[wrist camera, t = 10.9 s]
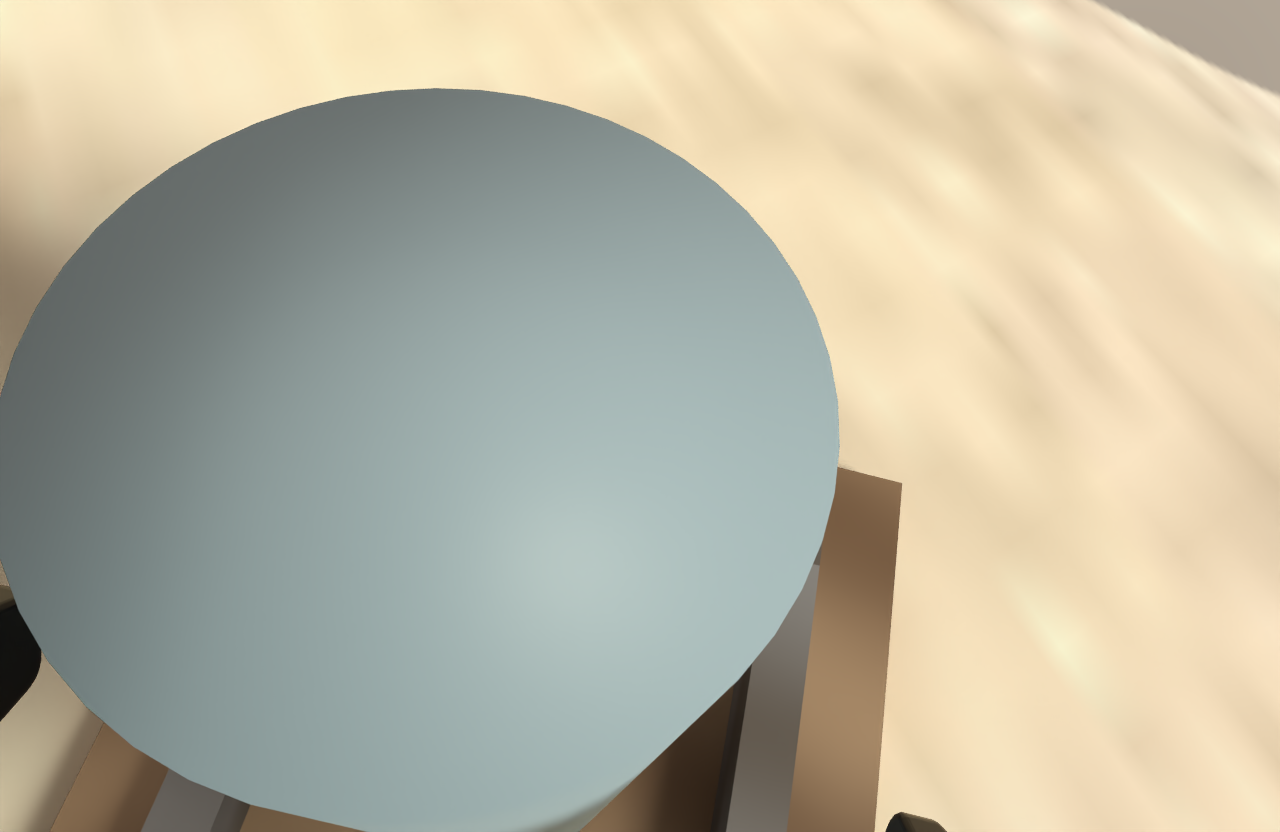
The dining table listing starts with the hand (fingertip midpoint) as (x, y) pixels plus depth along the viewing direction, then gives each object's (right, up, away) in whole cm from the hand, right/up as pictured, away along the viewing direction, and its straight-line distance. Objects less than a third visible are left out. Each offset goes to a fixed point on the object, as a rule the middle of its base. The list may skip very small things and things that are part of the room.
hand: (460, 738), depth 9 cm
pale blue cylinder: (-1, -3, +7) cm, 8 cm away
